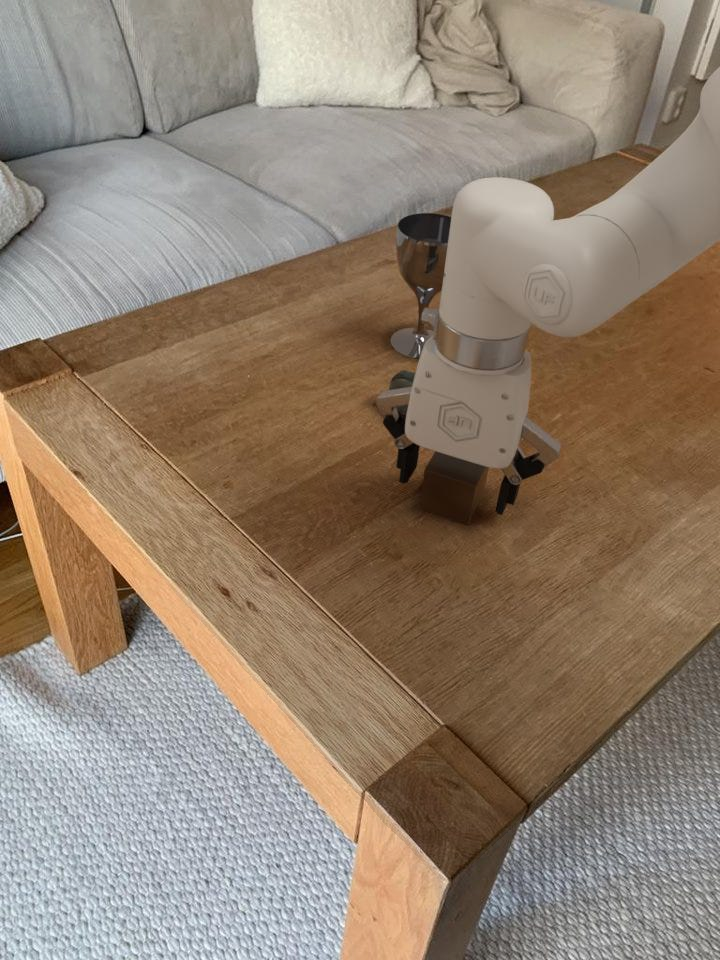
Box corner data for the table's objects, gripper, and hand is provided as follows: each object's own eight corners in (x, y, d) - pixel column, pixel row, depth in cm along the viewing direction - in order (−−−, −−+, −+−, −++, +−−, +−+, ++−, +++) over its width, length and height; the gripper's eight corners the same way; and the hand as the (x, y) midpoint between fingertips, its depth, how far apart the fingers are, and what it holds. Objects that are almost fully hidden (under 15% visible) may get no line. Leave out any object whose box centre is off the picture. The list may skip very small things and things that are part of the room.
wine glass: (448, 364, 98) (466, 247, 88) (382, 355, 99) (393, 238, 89) (453, 330, 104) (470, 217, 94) (391, 322, 105) (401, 209, 95)
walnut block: (483, 493, 81) (491, 454, 78) (467, 525, 78) (475, 486, 74) (436, 478, 82) (442, 439, 79) (418, 508, 79) (424, 469, 76)
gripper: (367, 330, 67) (356, 485, 79) (574, 387, 63) (531, 543, 74) (400, 291, 73) (386, 442, 84) (594, 341, 68) (551, 494, 79)
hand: (454, 489), depth 79 cm, fingers open, 9 cm apart
